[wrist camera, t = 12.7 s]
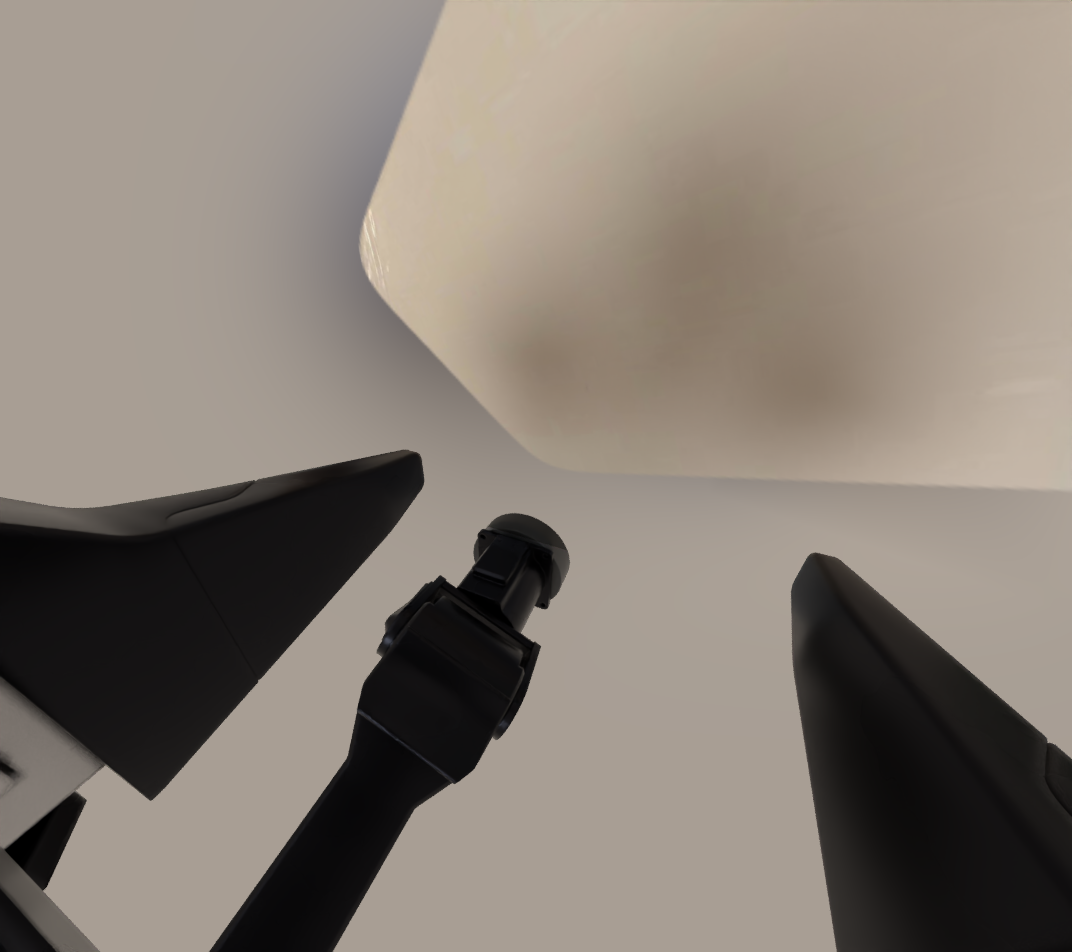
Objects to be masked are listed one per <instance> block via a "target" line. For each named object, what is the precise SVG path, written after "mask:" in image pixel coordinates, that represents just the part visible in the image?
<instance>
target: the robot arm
mask: <svg viewBox="0 0 1072 952" xmlns="http://www.w3.org/2000/svg"><path fill="white" fill-rule="evenodd" d="M423 485H424V474H423V466H422V459H421V456H420V454H418V453H417V452H413V451H409V450H400V451H396V452H390V453H385V454H380V455H376V456H371V457H366V458H361V459H356V460H351V461H346V462H342V463H336V464H332V465H326V466H322V467H317V468H312V469H307V470H302V471H297V472H293V473H287V474H282V475H278V476H273V477H268V478H263V479H258V480H257V481H255V480H253V481H248V482H243V483H238V484H233V485H228V486H222V487H217V488H212V489H207V490H201V491H195V492H190V493H184V494H178V495H172V496H166V497H161V498H154V499H148V500H142V501H136V502H130V503H124V504H118V505H112V506H104V507H95V508H64V507H55V506H48V505H42V504H36V503H31V502H25V501H19V500H13V499H7V498H1V497H0V952H100V951H99V950H98V949H97V948H96V947H95V946H94V945H93V944H92V943H91V942H90V941H89V939H88V938H87V937H86V936H85V935H84V934H83V933H82V932H81V931H80V930H79V929H78V928H77V927H76V926H75V925H74V924H73V923H72V921H71V920H70V919H68V917H67V916H66V915H65V914H64V913H63V912H62V911H61V910H60V909H59V908H58V907H57V906H56V905H55V903H54V902H53V901H52V900H51V899H50V898H49V897H48V896H47V895H46V894H45V893H44V892H43V890H44V889H45V888H46V887H47V885H48V883H49V881H50V878H51V877H52V875H53V872H54V870H55V868H56V866H57V864H58V862H59V859H60V857H61V855H62V853H63V851H64V849H65V846H66V844H67V842H68V840H69V838H70V836H71V833H72V831H73V829H74V827H75V825H76V823H77V821H78V818H79V816H80V814H81V812H82V810H83V807H84V805H85V803H86V799H85V798H84V797H82V796H81V795H80V794H79V793H78V792H77V791H76V790H77V789H78V788H79V787H80V786H82V785H83V784H84V783H85V782H86V781H87V780H89V779H90V778H91V777H92V776H93V775H95V774H96V773H97V772H98V771H99V770H101V769H102V768H103V767H104V766H105V765H106V766H107V767H108V768H110V769H111V770H112V771H113V772H115V773H116V774H118V775H119V776H120V777H121V778H122V779H123V780H125V781H126V782H127V783H129V784H130V785H131V786H132V787H134V788H135V789H136V790H137V791H139V792H140V793H141V794H143V795H144V796H145V797H146V798H148V799H149V800H150V801H151V800H153V799H154V798H155V797H156V796H157V795H158V794H159V793H160V792H161V791H162V790H163V789H164V788H165V787H166V786H167V785H168V784H169V782H170V781H171V780H172V779H173V778H174V777H175V776H176V775H177V773H178V772H179V771H180V770H181V769H182V768H183V767H184V765H185V764H186V763H187V762H188V761H189V760H190V759H191V758H192V756H193V755H194V754H195V753H196V752H197V751H198V750H199V749H200V747H201V746H202V745H203V744H204V743H205V742H206V741H207V739H208V738H209V737H210V736H211V735H212V734H213V733H214V731H215V730H216V729H217V728H218V727H219V726H220V725H221V724H222V722H223V721H224V720H225V719H226V718H227V717H228V716H229V715H230V713H231V712H232V711H233V710H234V709H235V708H236V707H237V705H238V704H239V703H240V702H241V701H242V700H243V698H245V696H246V695H247V694H248V693H249V692H250V690H252V689H253V687H254V686H255V685H256V684H257V683H258V680H259V679H261V678H262V677H263V676H264V675H265V673H266V672H267V671H268V670H269V669H270V668H271V666H272V665H273V664H274V663H275V662H276V661H277V660H278V659H279V658H280V656H281V655H282V654H283V653H284V652H285V651H286V650H287V648H288V647H289V646H290V645H291V644H292V643H293V642H294V640H296V638H297V637H298V636H299V635H300V634H301V633H302V632H303V630H304V629H305V628H306V627H307V626H308V625H309V624H310V622H311V621H312V620H313V619H314V618H315V617H316V616H317V615H318V614H319V612H320V611H321V610H322V609H323V608H324V607H325V606H326V604H327V603H328V602H329V601H330V600H331V599H332V598H333V596H334V595H335V594H336V593H337V592H338V591H339V590H340V589H341V588H342V586H343V585H344V584H345V583H346V582H347V581H348V580H349V578H350V577H351V576H352V575H353V574H354V573H355V572H356V570H357V569H358V568H359V567H360V566H361V565H362V564H363V563H364V562H365V560H366V559H367V558H368V557H369V556H370V555H371V554H372V552H373V551H374V550H375V549H376V548H377V547H378V546H379V544H380V543H381V542H382V541H383V540H384V539H385V538H386V536H387V535H388V534H389V533H390V532H391V531H392V529H393V528H394V527H395V525H396V524H397V523H398V521H399V520H400V519H401V517H402V516H403V514H404V513H405V512H406V510H407V509H408V507H409V506H410V505H411V503H412V502H413V500H414V499H415V498H416V496H417V494H418V493H419V492H420V491H421V489H422V487H423ZM484 535H485V536H484ZM478 551H479V559H478V560H477V562H476V563H475V564H474V566H473V567H472V569H471V570H470V571H469V573H468V574H467V576H466V577H465V578H464V579H463V581H462V582H461V583H460V585H459V586H458V587H457V588H455V587H454V586H453V585H451V584H450V583H449V582H447V581H446V579H445V578H444V577H442V576H441V575H440V576H439V577H438V578H437V579H436V580H435V581H434V582H430V583H429V584H428V583H426V584H425V585H424V586H423V587H422V588H421V589H420V591H419V592H418V593H417V594H416V595H415V596H414V597H413V598H412V599H411V600H410V601H409V602H408V603H406V604H405V605H404V606H403V607H401V608H400V609H398V610H397V611H396V612H394V613H393V614H392V615H390V617H389V618H388V619H387V620H386V622H385V635H384V636H383V639H382V642H381V644H380V645H379V647H378V649H377V653H378V654H379V655H380V656H382V659H381V660H380V661H379V663H378V664H377V665H376V667H375V668H374V669H373V671H372V672H371V673H370V675H369V676H368V677H367V679H366V680H365V682H364V684H363V687H362V691H361V696H360V699H359V703H358V708H357V715H356V720H355V725H354V729H353V734H352V739H351V744H350V749H349V753H348V757H347V759H346V760H345V762H344V763H343V765H342V766H341V768H340V769H339V770H338V772H337V773H336V775H335V776H334V777H333V779H332V780H331V782H330V783H329V785H328V786H327V787H326V789H325V790H324V791H323V793H322V794H321V796H320V797H319V798H318V800H317V801H316V803H315V804H314V805H313V807H312V808H311V810H310V811H309V813H308V814H307V816H306V817H305V818H304V819H303V821H302V822H301V824H300V825H299V827H298V828H297V829H296V831H295V832H294V834H293V835H292V836H291V838H290V839H289V841H288V842H287V843H286V845H285V846H284V848H283V849H282V850H281V852H280V853H279V855H278V856H277V857H276V859H275V860H274V862H273V863H272V864H271V866H270V867H269V869H268V870H267V871H266V873H265V874H264V876H263V877H262V878H261V880H260V881H259V883H258V884H257V886H256V887H255V888H254V890H253V891H252V892H251V894H250V895H249V897H248V898H247V899H246V901H245V902H244V904H243V905H242V906H241V908H240V909H239V911H238V912H237V914H236V915H235V916H234V918H233V919H232V920H231V922H230V923H229V925H228V926H227V927H226V929H225V930H224V932H223V933H222V935H221V936H220V937H219V939H218V940H217V941H216V943H215V944H214V946H213V947H212V949H211V950H210V952H333V950H334V948H335V946H336V945H337V943H338V941H339V940H340V938H341V936H342V934H343V933H344V931H345V929H346V927H347V926H348V924H349V922H350V920H351V919H352V917H353V915H354V914H355V912H356V910H357V908H358V907H359V905H360V903H361V901H362V899H363V898H364V896H365V894H366V893H367V891H368V889H369V887H370V885H371V884H372V882H373V880H374V878H375V877H376V875H377V873H378V872H379V870H380V868H381V866H382V865H383V863H384V861H385V859H386V858H387V856H388V854H389V852H390V851H391V849H392V847H393V845H394V843H395V842H396V840H397V838H398V837H399V835H400V833H401V831H402V830H403V828H404V826H405V824H406V822H407V821H408V819H409V818H410V816H411V814H412V813H413V811H414V809H415V808H416V807H418V806H419V805H421V804H422V803H423V802H425V801H426V800H428V799H429V798H431V797H432V796H434V795H435V794H437V793H438V792H439V791H441V790H442V789H444V788H445V787H447V786H448V785H450V784H451V783H453V784H456V783H457V782H459V781H460V780H461V779H462V778H464V777H465V776H466V775H468V774H469V773H470V772H471V771H473V769H475V767H476V765H477V763H478V762H479V760H480V758H481V756H482V754H483V753H484V751H485V749H486V747H487V745H488V744H489V742H490V740H491V738H492V737H493V738H494V739H495V740H498V739H499V738H500V737H501V736H502V735H503V733H504V732H505V731H506V730H507V728H508V727H509V725H510V724H511V722H512V721H513V719H514V717H515V715H516V713H517V712H518V710H519V708H520V706H521V704H522V702H523V699H524V697H525V695H526V692H527V689H528V686H529V683H530V680H531V676H532V673H533V670H534V667H535V664H536V661H537V657H538V654H539V651H540V648H541V646H540V645H539V644H537V643H536V642H532V641H531V640H530V639H528V638H526V637H525V636H524V635H522V634H521V631H522V630H523V628H524V625H525V624H526V622H527V619H528V618H529V616H530V614H531V612H532V610H533V608H534V606H536V607H539V608H541V609H547V608H548V606H549V604H550V595H551V584H552V572H553V560H554V553H553V551H552V550H550V549H548V548H545V547H542V546H539V545H535V544H532V543H529V542H525V541H522V540H519V539H516V538H512V537H509V536H506V535H502V534H499V533H496V532H493V531H489V530H486V529H482V530H481V531H480V532H479V533H478ZM546 554H547V555H548V556H547V555H546ZM791 613H792V655H793V668H794V678H795V684H796V690H797V697H798V703H799V709H800V716H801V723H802V729H803V735H804V742H805V749H806V754H807V762H808V768H809V774H810V781H811V787H812V794H813V800H814V807H815V813H816V819H817V826H818V833H819V839H820V846H821V852H822V859H823V865H824V871H825V877H826V885H827V891H828V897H829V904H830V910H831V916H832V923H833V929H834V936H835V943H836V949H837V952H1072V759H1071V758H1070V757H1069V756H1068V755H1066V754H1065V753H1064V752H1063V751H1062V750H1061V749H1059V748H1058V747H1057V746H1056V745H1054V744H1052V743H1047V738H1046V737H1045V736H1044V735H1043V734H1042V733H1041V732H1039V731H1038V730H1037V729H1036V728H1035V727H1034V726H1033V725H1031V724H1030V723H1029V722H1028V721H1027V720H1026V719H1024V718H1023V717H1022V716H1021V715H1020V714H1019V713H1017V712H1016V711H1015V710H1014V709H1013V708H1012V707H1010V706H1009V705H1008V704H1007V703H1006V702H1005V701H1003V700H1002V699H1001V698H1000V697H999V696H998V695H997V694H995V693H994V692H993V691H992V690H991V689H989V688H988V687H987V686H986V685H985V684H984V683H983V682H981V681H980V680H979V679H978V678H977V677H975V676H974V675H973V674H972V673H971V672H970V671H969V670H967V669H966V668H965V667H964V666H963V665H962V664H960V663H959V662H958V661H957V660H956V659H955V658H954V657H952V656H951V655H950V654H949V653H948V652H947V651H945V650H944V649H943V648H942V647H941V646H940V645H938V644H937V643H936V642H935V641H934V640H933V639H931V638H930V637H929V636H928V635H927V634H926V633H924V632H923V631H922V630H921V629H920V628H919V627H917V626H916V625H915V624H914V623H913V622H912V621H910V620H909V619H908V618H907V617H906V616H905V615H903V614H902V613H901V612H900V611H899V610H898V609H897V608H895V607H894V606H893V605H892V604H891V603H889V602H888V601H887V600H886V599H885V598H884V597H883V596H881V595H880V594H879V593H878V592H877V591H876V590H874V589H873V588H872V587H871V586H870V585H869V584H868V583H866V582H865V581H864V580H863V579H862V578H861V577H859V576H858V575H857V574H856V573H855V572H854V571H852V570H851V569H850V568H849V567H848V566H846V565H845V564H844V563H843V562H842V561H841V560H839V559H838V558H835V557H832V556H828V555H824V554H820V553H812V554H810V555H809V556H808V557H807V559H806V561H805V563H804V564H803V566H802V568H801V570H800V572H799V573H798V575H797V577H796V579H795V581H794V583H793V585H792V590H791Z"/></svg>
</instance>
